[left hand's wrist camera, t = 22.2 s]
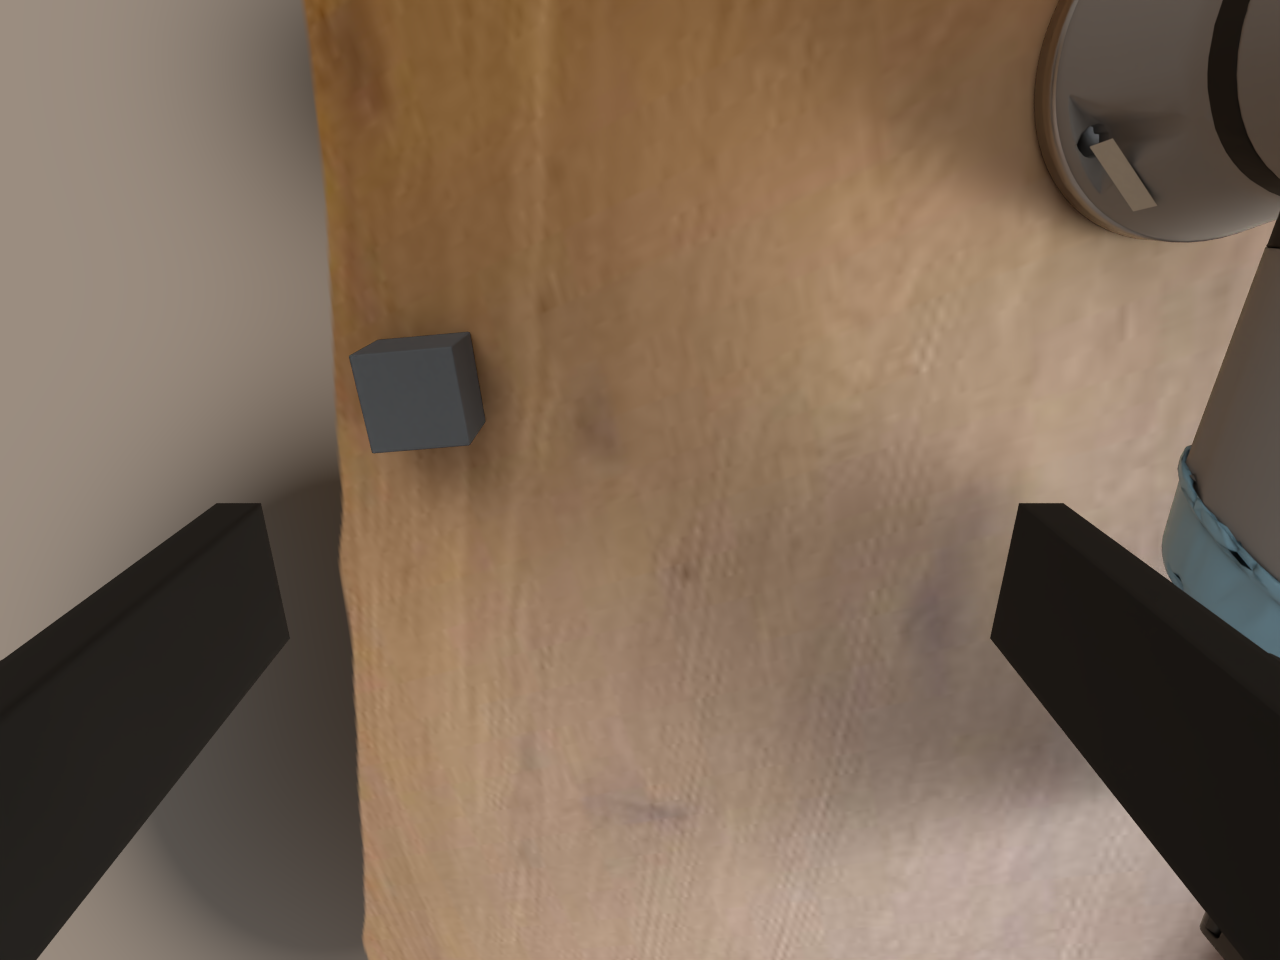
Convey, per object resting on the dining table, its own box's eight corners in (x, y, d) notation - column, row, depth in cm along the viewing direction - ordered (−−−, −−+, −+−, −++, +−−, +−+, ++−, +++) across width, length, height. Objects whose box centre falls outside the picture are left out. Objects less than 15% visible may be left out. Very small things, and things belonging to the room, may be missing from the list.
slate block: (376, 339, 38) (347, 355, 34) (470, 331, 38) (451, 346, 34) (396, 429, 40) (371, 453, 36) (486, 422, 40) (470, 445, 36)
